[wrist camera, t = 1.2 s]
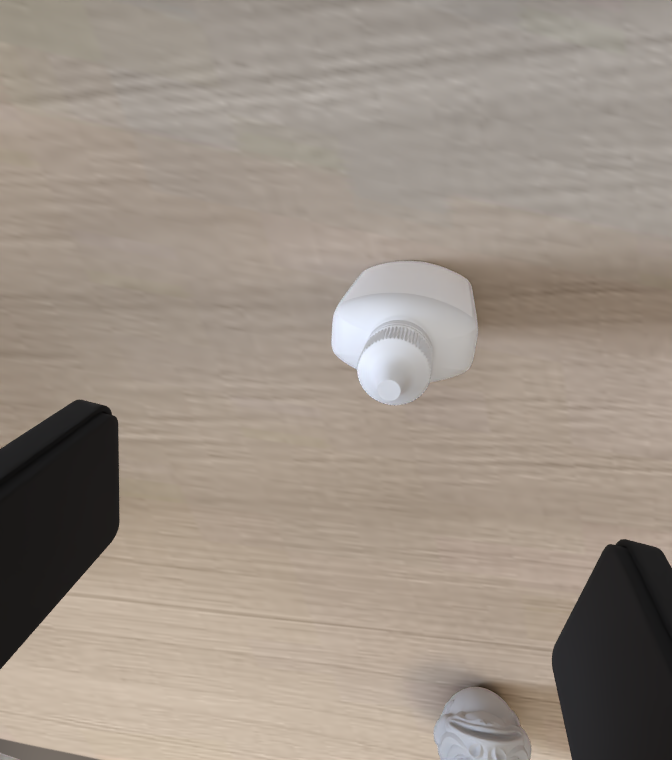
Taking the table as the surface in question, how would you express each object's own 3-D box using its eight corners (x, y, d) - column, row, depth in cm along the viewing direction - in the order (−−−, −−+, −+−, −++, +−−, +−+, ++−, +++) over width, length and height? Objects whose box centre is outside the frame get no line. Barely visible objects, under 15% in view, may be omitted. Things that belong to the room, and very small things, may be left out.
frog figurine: (529, 664, 34) (547, 778, 28) (517, 732, 37) (531, 849, 31) (437, 650, 35) (434, 756, 29) (432, 717, 38) (429, 826, 32)
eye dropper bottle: (393, 225, 25) (351, 277, 14) (486, 290, 25) (513, 390, 14) (345, 296, 27) (275, 390, 16) (432, 356, 27) (421, 488, 16)
